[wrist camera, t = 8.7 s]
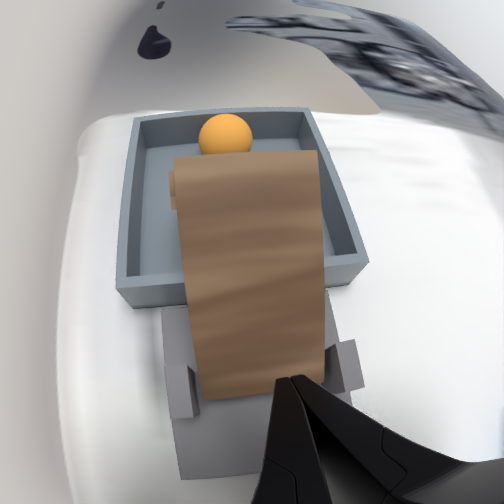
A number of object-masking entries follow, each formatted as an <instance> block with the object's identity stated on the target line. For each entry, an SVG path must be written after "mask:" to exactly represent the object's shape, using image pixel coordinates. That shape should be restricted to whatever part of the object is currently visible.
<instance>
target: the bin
mask: <svg viewBox="0 0 504 504" xmlns="http://www.w3.org/2000/svg"><path fill="white" fill-rule="evenodd" d="M219 114H233V115H236V116H238V117H240V118H242V119H243V120H244V121H245V122H246V123H247V124H248V126H249V127H250V129H251V132H252V137H253V141H252V147H251V150H250V152H256V151H285V150H317V154H318V166H319V178H320V192H321V207H322V224H323V245H324V276H325V288H329V287H336V286H342V285H349V284H350V283H351V281H352V280H353V279H354V278H355V277H356V276H357V275H358V274H359V273H360V272H361V270H362V269H363V268H364V267H365V266H366V265H367V264H368V263H369V259H368V256H367V253H366V250H365V247H364V244H363V241H362V238H361V235H360V232H359V229H358V226H357V223H356V221H355V218H354V215H353V212H352V210H351V207H350V204H349V202H348V199H347V196H346V194H345V191H344V189H343V186H342V183H341V181H340V178H339V176H338V173H337V171H336V169H335V166H334V164H333V161H332V159H331V156H330V154H329V152H328V149H327V147H326V145H325V143H324V140H323V138H322V136H321V133H320V131H319V129H318V127H317V125H316V122H315V120H314V118H313V116H312V114H311V112H310V110H309V108H299V107H297V108H296V107H254V108H253V107H252V108H225V109H210V110H196V111H185V112H175V113H166V114H158V115H151V116H143V117H137V118H134V121H133V126H132V131H131V137H130V143H129V149H128V155H127V161H126V168H125V175H124V183H123V191H122V200H121V209H120V219H119V231H118V245H117V263H116V290H117V291H118V292H119V293H120V294H121V295H122V297H123V298H124V299H125V300H126V301H127V302H128V303H129V305H130V306H131V307H132V308H133V309H137V308H150V307H162V306H173V305H184V304H187V298H186V290H185V283H184V274H183V266H182V257H181V248H180V238H179V228H178V218H177V210H171V201H170V188H169V174H168V171H169V170H174V164H173V158H177V157H186V156H197V155H203V154H202V152H201V150H200V147H199V134H200V131H201V128H202V127H203V125H204V124H205V123H206V122H207V121H208V120H209V119H210V118H212V117H214V116H216V115H219Z"/></svg>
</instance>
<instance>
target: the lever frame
mask: <svg viewBox="0 0 504 504" xmlns="http://www.w3.org/2000/svg"><path fill="white" fill-rule="evenodd" d="M161 315H162V331H163V345H164V357H165V376H166V386H167V395H168V403H169V411H170V419H171V420H172V427H173V434H174V441H175V447H176V453H177V459H178V465H179V470H180V476H181V480H190V479H207V478H219V477H229V476H238V475H245V474H253V473H259V472H260V471H261V466H262V461H263V456H264V450H265V444H266V438H267V432H268V426H269V419H270V413H271V406H272V400H273V393H274V392H269V393H263V394H256V395H249V396H241V397H233V398H225V399H215V400H205V401H203V397H202V392H201V386H200V381H199V375H198V370H197V364H196V358H195V352H194V346H193V339H192V333H191V326H190V320H189V313H188V307H181V308H170V309H161ZM317 384H319V385H320V386H322V387H323V388H325V389H326V390H328V391H329V392H331V393H332V394H334V395H335V396H337V397H338V398H340V399H342V400H343V401H345V402H346V403H348V404H349V405H351V406H352V401H351V396H350V391H352V390H356V389H360V388H363V387H365V386H364V381H363V376H362V371H361V366H360V361H359V357H358V352H357V348H356V343H355V339H353V340H348V341H344V342H339V337H338V333H337V329H336V324H335V320H334V316H333V311H332V307H331V303H330V299H329V295H328V291H327V290H325V365H324V382H322V383H317Z"/></svg>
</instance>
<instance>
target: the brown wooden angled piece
mask: <svg viewBox="0 0 504 504" xmlns="http://www.w3.org/2000/svg"><path fill="white" fill-rule="evenodd" d="M173 164H174V170H169V171H168V174H169V188H170V201H171V210H177V218H178V228H179V238H180V248H181V257H182V266H183V274H184V283H185V290H186V298H187V305H188V313H189V320H190V326H191V333H192V339H193V346H194V352H195V358H196V364H197V370H198V375H199V381H200V386H201V392H202V397H203V401H205V400H215V399H225V398H233V397H241V396H249V395H256V394H263V393H269V392H274V386H275V380H276V379H277V378H282V377H289V378H290V377H291V376H293V375H299V374H303V375H305V376H307V377H308V378H310V379H311V380H313V381H314V382H316V383H322V382H324V365H325V276H324V245H323V224H322V207H321V192H320V178H319V166H318V154H317V150H285V151H256V152H237V153H222V154H209V155H197V156H186V157H177V158H173Z"/></svg>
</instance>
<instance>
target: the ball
mask: <svg viewBox="0 0 504 504" xmlns="http://www.w3.org/2000/svg"><path fill="white" fill-rule="evenodd" d="M252 141H253V137H252V132H251V129H250V127H249V126H248V124H247V123H246V122H245V121H244V120H243V119H242V118H240V117H238V116H236V115H233V114H219V115H216V116H214V117H212V118H210V119H209V120H208V121H207V122H206V123H205V124H204V125H203V127H202V128H201V131H200V134H199V147H200V150H201V152H202V154H203V155H209V154H222V153H237V152H250V150H251V147H252Z"/></svg>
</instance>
